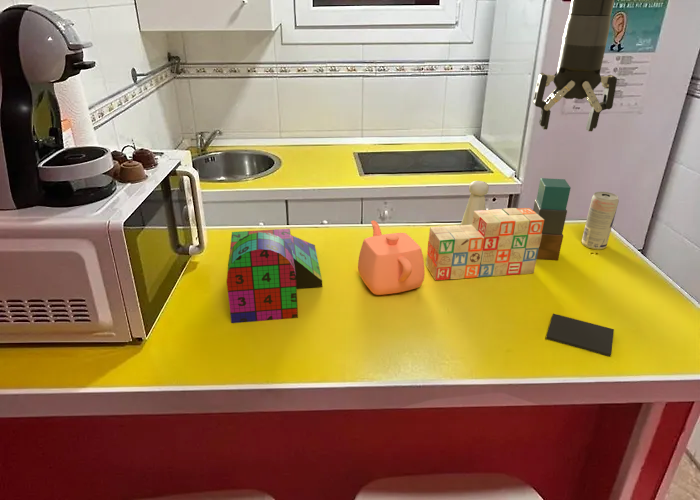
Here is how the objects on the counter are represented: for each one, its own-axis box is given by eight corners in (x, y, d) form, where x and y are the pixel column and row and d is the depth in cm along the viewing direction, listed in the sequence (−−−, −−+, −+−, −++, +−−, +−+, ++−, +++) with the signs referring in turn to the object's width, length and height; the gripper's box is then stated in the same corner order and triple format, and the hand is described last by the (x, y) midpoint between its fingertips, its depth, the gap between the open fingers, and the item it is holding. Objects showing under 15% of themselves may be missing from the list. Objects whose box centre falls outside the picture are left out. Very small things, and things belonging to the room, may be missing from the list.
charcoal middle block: (556, 224, 114) (561, 200, 112) (562, 234, 109) (567, 210, 107) (530, 222, 115) (534, 199, 112) (535, 233, 110) (539, 209, 107)
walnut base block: (552, 247, 117) (557, 223, 114) (558, 260, 112) (563, 235, 109) (524, 246, 118) (529, 222, 115) (529, 258, 113) (534, 233, 110)
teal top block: (560, 201, 111) (565, 179, 109) (565, 210, 107) (570, 187, 105) (536, 199, 112) (540, 177, 110) (540, 209, 108) (545, 186, 105)
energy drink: (606, 242, 120) (619, 193, 114) (606, 252, 116) (619, 202, 110) (581, 237, 122) (593, 189, 116) (580, 247, 117) (592, 197, 112)
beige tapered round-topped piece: (465, 240, 120) (472, 188, 114) (456, 230, 125) (462, 179, 119) (489, 238, 121) (497, 186, 115) (478, 228, 126) (485, 177, 120)
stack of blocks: (435, 281, 104) (440, 225, 98) (425, 266, 109) (430, 212, 103) (534, 273, 107) (545, 218, 101) (520, 259, 112) (530, 206, 107)
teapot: (378, 310, 94) (380, 260, 90) (346, 264, 110) (346, 219, 105) (435, 299, 98) (440, 250, 93) (396, 256, 113) (398, 212, 108)
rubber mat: (613, 331, 89) (614, 329, 89) (610, 357, 83) (611, 354, 83) (552, 316, 93) (553, 313, 93) (545, 339, 87) (546, 336, 87)
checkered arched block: (328, 315, 93) (327, 244, 86) (231, 323, 91) (223, 251, 84) (314, 250, 115) (313, 190, 108) (236, 255, 112) (230, 194, 106)
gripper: (548, 43, 93) (532, 133, 100) (632, 44, 91) (610, 136, 99) (540, 39, 99) (526, 123, 107) (618, 40, 98) (598, 126, 105)
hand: (566, 129), depth 103 cm, fingers open, 8 cm apart
